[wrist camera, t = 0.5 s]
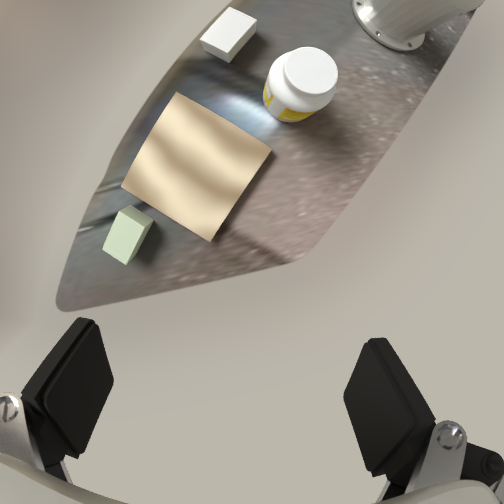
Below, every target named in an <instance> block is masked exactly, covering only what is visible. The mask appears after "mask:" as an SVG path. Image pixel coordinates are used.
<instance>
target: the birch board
mask: <svg viewBox="0 0 504 504" xmlns="http://www.w3.org/2000/svg"><path fill="white" fill-rule="evenodd" d="M271 150H272V149H271V148H269V147H268V146H266V145H265V144H263V143H262V142H260V141H259V140H257V139H256V138H254V137H252V136H251V135H249V134H248V133H246V132H245V131H243V130H241V129H240V128H238V127H237V126H235V125H233V124H232V123H230V122H228V121H227V120H225V119H223V118H222V117H220V116H218V115H217V114H215V113H213V112H212V111H210V110H208V109H206V108H205V107H203V106H201V105H199V104H198V103H196V102H194V101H192V100H190V99H189V98H187V97H185V96H183V95H181V94H179V93H177V92H176V93H175V95H174V96H173V98H172V99H171V101H170V102H169V104H168V105H167V107H166V108H165V110H164V111H163V113H162V114H161V116H160V118H159V119H158V121H157V122H156V124H155V126H154V127H153V129H152V131H151V132H150V134H149V136H148V137H147V139H146V141H145V142H144V144H143V146H142V148H141V149H140V151H139V153H138V155H137V157H136V158H135V160H134V162H133V164H132V166H131V168H130V170H129V172H128V174H127V176H126V177H125V179H124V181H123V183H122V185H121V187H122V188H124V189H125V190H127V191H129V192H130V193H132V194H133V195H135V196H136V197H138V198H140V199H141V200H143V201H144V202H146V203H148V204H149V205H151V206H152V207H154V208H156V209H157V210H159V211H160V212H162V213H164V214H165V215H167V216H168V217H170V218H172V219H173V220H175V221H176V222H178V223H180V224H181V225H183V226H185V227H186V228H188V229H189V230H191V231H193V232H194V233H196V234H197V235H199V236H201V237H202V238H204V239H206V240H207V241H209V242H210V241H211V240H212V238H213V236H214V235H215V233H216V232H217V230H218V229H219V227H220V226H221V224H222V223H223V221H224V219H225V218H226V216H227V215H228V213H229V212H230V210H231V209H232V207H233V206H234V204H235V203H236V201H237V200H238V198H239V197H240V195H241V194H242V192H243V191H244V189H245V188H246V186H247V185H248V183H249V182H250V181H251V179H252V178H253V176H254V175H255V173H256V172H257V170H258V169H259V167H260V166H261V165H262V163H263V162H264V160H265V159H266V157H267V156H268V154H269V153H270V152H271Z"/></svg>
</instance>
